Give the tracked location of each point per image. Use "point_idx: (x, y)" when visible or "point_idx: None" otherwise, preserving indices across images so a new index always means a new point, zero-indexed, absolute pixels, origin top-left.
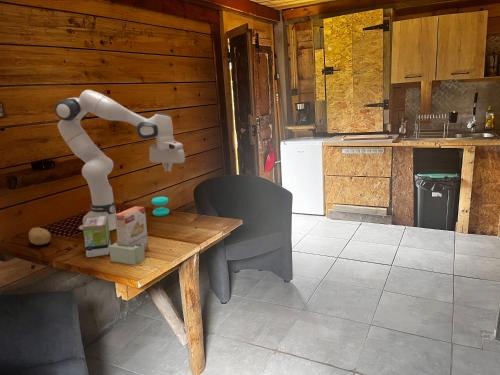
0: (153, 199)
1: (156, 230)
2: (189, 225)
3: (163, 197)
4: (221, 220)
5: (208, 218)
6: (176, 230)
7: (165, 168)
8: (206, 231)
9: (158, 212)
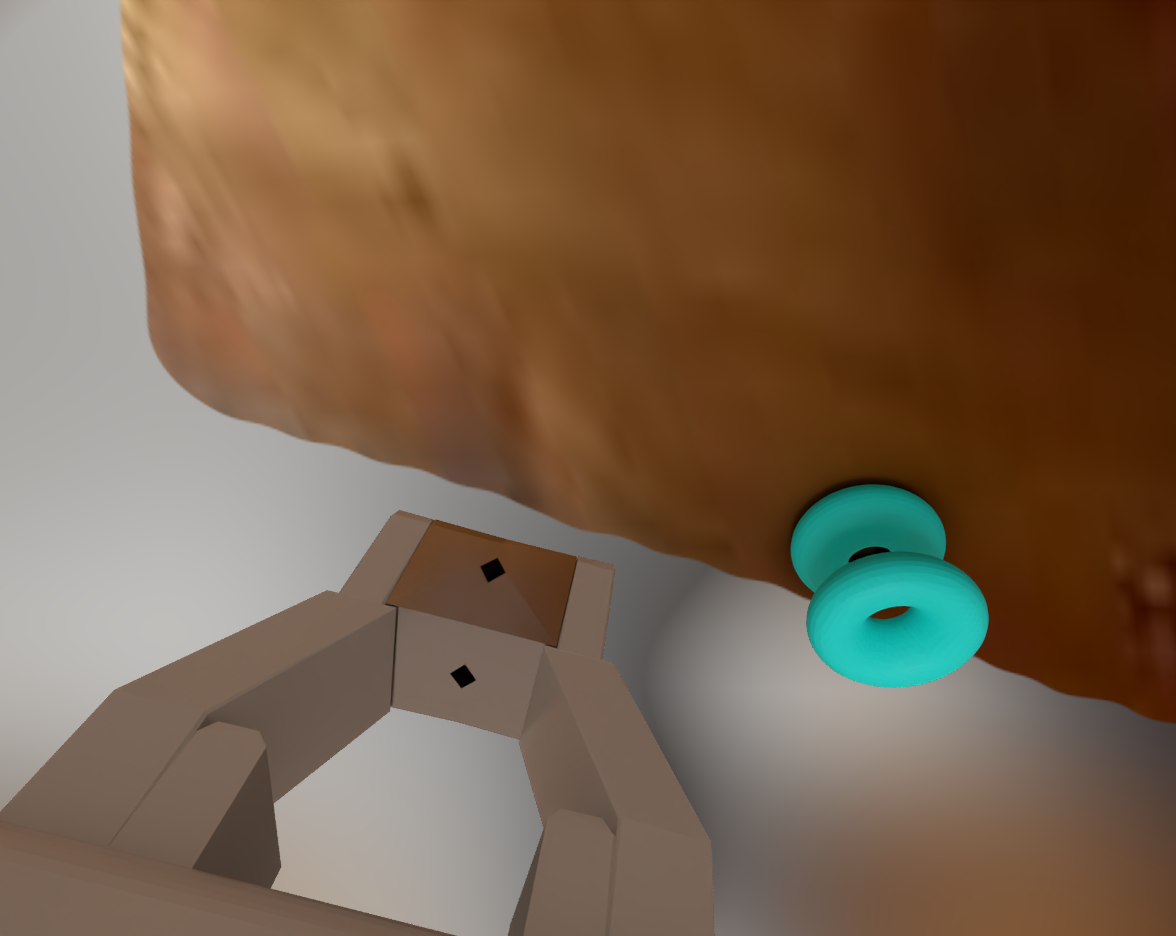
0: (967, 613)
1: (790, 67)
2: (501, 251)
3: (867, 666)
4: (298, 386)
5: (421, 431)
6: (569, 87)
7: (554, 622)
8: (268, 83)
9: (878, 501)
